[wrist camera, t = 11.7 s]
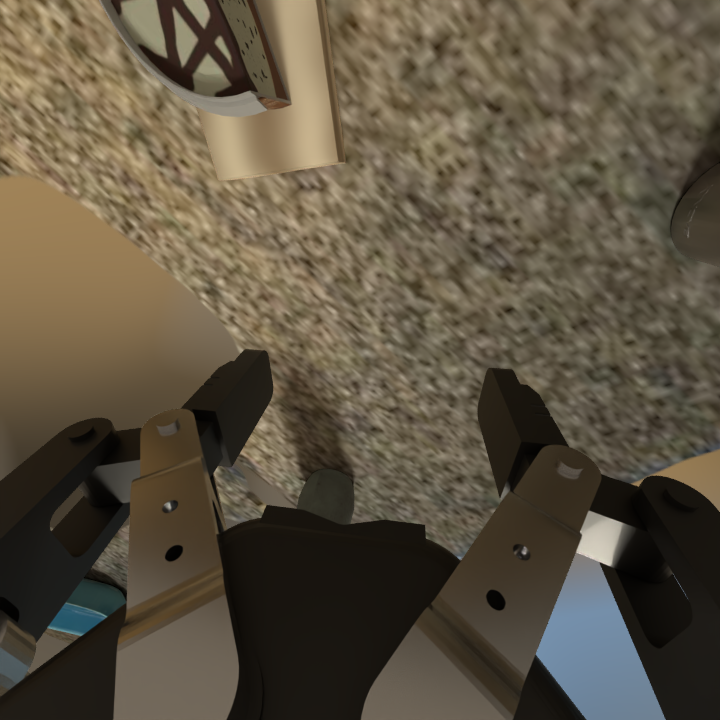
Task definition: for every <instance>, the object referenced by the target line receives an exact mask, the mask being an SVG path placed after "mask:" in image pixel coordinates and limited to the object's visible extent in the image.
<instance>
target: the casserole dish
mask: <svg viewBox="0 0 720 720" xmlns="http://www.w3.org/2000/svg"><path fill="white" fill-rule="evenodd" d="M125 603H126V600H125V598H124V596H123V594H122V592H121V591H120V590H119V589H117V588H115V587H113V586H110V585H107V584H104V583H100V582H97V581H93V580H89V579H84V578H83V580H82V581H81V582H80V584H79V585H78V586H77V588H76V589H75V590H74V592H73V593H72V595H71V596H70V597H69V599H68V600H67V601H66V603H65V604H64V606H63V607H62V608H61V610H60V611H59V612H58V614H57V615H56V617H55V618H54V619H53V621H52V622H51V623H50V625H49V626H48V627H47V628H50V629H55V630H59V631H63V632H67V633H71V634H76V635H80V636H82V635H83V634H85V633H86V632H87V631H89V630H90V629H91V628H93V627H94V626H95V625H97V624H98V623H99V622H101V621H102V620H104V619H105V618H106V617H108V616H109V615H110V614H112V613H113V612H114V611H116V610H117V609H118V608H120V607H121V606H122V605H124V604H125Z"/></svg>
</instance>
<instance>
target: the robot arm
mask: <svg viewBox="0 0 720 720" xmlns="http://www.w3.org/2000/svg"><path fill="white" fill-rule="evenodd" d="M671 235H672V241H673V243H674V245H675V247H676V248H677V249H678V250H679V251H680V252H681V253H682V254H683V255H685V256H687V257H689V258H691V259H695V260H698V261H701V262H704V263H707V264H711V265H714V266H717V267H720V163H719V164H717V165H715V166H714V167H712V168H711V169H710V170H708V171H707V172H706V173H704V174H703V175H702V176H701V177H700V178H699V179H698V180H697V181H696V182H695V183H694V184H693V185H692V186H691V187H690V188H689V190H688V191H687V192H686V193H685V195H684V196H683V197H682V199H681V201H680V203H679V205H678V206H677V208H676V210H675V213H674V216H673V219H672V226H671ZM272 394H273V381H272V375H271V369H270V362H269V356H268V353H267V352H266V351H264V350H250V349H245V350H244V351H243V352H242V353H241V354H240V355H239V356H238V357H237V358H236V360H235V361H230V362H228V363H226V364H225V365H223V366H221V367H219V368H218V369H217V370H216V371H215V372H214V373H213V374H212V375H211V378H209V379H208V380H207V381H206V382H205V383H204V385H203V386H201V387H200V388H199V390H198V391H197V392H196V393H195V394H194V395H193V396H192V397H191V398H190V399H189V400H188V401H187V402H186V403H185V404H184V405H183V407H182V408H181V409H171V410H167V411H164V412H161V413H159V414H157V415H155V416H153V417H152V418H150V419H149V420H148V421H147V422H146V423H145V424H144V425H143V427H142V428H136V429H129V430H121V431H116V430H115V428H114V426H113V424H112V422H111V421H110V420H108V419H105V418H92V419H87V420H84V421H80V422H78V423H75V424H73V425H71V426H69V427H67V428H65V429H64V430H63V431H61V432H60V433H58V434H57V435H56V436H55V437H53V438H52V439H51V440H50V441H49V442H47V443H46V444H45V445H44V446H42V447H41V448H40V449H39V450H38V451H36V452H35V453H34V454H33V455H31V456H30V457H29V458H28V459H27V460H26V461H24V462H23V463H22V464H21V465H19V466H18V467H17V468H16V469H14V470H13V471H12V472H11V473H10V474H8V475H7V476H6V477H5V478H4V479H2V480H1V481H0V720H586V719H585V717H584V716H583V715H582V713H581V712H580V711H579V710H578V708H577V707H576V706H575V704H574V703H573V702H572V701H571V699H570V698H569V697H568V695H567V694H566V693H565V692H564V690H563V689H562V688H561V686H560V685H559V684H558V683H557V681H556V680H555V679H554V677H553V676H552V675H551V674H550V672H549V671H548V670H547V668H546V667H545V666H544V665H543V663H542V662H541V661H540V659H539V658H538V657H537V656H536V651H537V649H538V647H539V644H540V642H541V639H542V636H543V634H544V631H545V629H546V626H547V624H548V621H549V619H550V616H551V614H552V611H553V609H554V606H555V604H556V601H557V598H558V596H559V594H560V591H561V589H562V586H563V583H564V581H565V579H566V576H567V573H568V571H569V569H570V566H571V563H572V561H573V558H574V556H575V553H576V552H577V553H579V554H582V555H584V556H587V557H589V558H591V559H594V560H596V561H599V563H600V565H601V567H602V570H603V572H604V575H605V577H606V579H607V582H608V584H609V586H610V589H611V591H612V593H613V596H614V598H615V601H616V603H617V605H618V608H619V610H620V612H621V615H622V617H623V619H624V622H625V624H626V627H627V629H628V631H629V634H630V636H631V639H632V641H633V643H634V646H635V648H636V650H637V653H638V655H639V657H640V660H641V662H642V664H643V667H644V669H645V672H646V674H647V676H648V679H649V681H650V683H651V686H652V688H653V690H654V693H655V695H656V697H657V700H658V702H659V705H660V707H661V709H662V712H663V714H664V717H665V719H666V720H720V512H719V511H718V510H717V508H716V507H715V506H714V505H713V504H712V503H711V502H710V501H709V500H708V499H707V498H706V497H705V496H703V495H702V494H701V493H699V492H698V491H696V490H695V489H693V488H691V487H690V486H688V485H686V484H684V483H682V482H679V481H677V480H674V479H671V478H668V477H663V476H649V477H647V478H645V479H644V480H643V481H642V483H641V484H640V486H639V487H638V486H634V485H632V484H629V483H625V482H622V481H619V480H616V479H613V478H610V477H607V476H605V475H602V474H601V472H600V470H599V468H598V467H597V465H596V464H595V463H594V462H593V461H592V460H591V459H590V458H589V457H587V456H586V455H584V454H583V453H581V452H579V451H578V450H575V449H573V448H570V447H569V446H568V444H567V442H566V441H565V439H564V437H563V435H562V434H561V432H560V430H559V428H558V427H557V425H556V423H555V421H554V420H553V418H552V417H550V413H549V411H548V409H547V408H546V407H545V404H544V402H543V400H542V399H541V397H540V395H539V394H538V393H537V392H535V391H534V390H533V389H532V388H531V387H529V386H528V385H523V384H520V383H519V381H518V379H517V377H516V375H515V373H514V371H513V370H512V369H500V368H488V370H487V372H486V375H485V379H484V383H483V387H482V391H481V395H480V399H479V403H478V421H479V424H480V428H481V432H482V435H483V439H484V443H485V446H486V450H487V453H488V457H489V461H490V464H491V468H492V472H493V475H494V479H495V482H496V486H497V490H498V493H499V497H500V499H503V500H502V502H501V503H500V504H499V506H498V507H497V509H496V510H495V512H494V513H493V515H492V516H491V518H490V519H489V521H488V522H487V524H486V525H485V526H484V528H483V529H482V531H481V532H480V534H479V535H478V537H477V538H476V540H475V541H474V543H473V544H472V546H471V547H470V548H469V550H468V551H467V553H466V554H465V556H464V557H463V559H462V560H459V559H458V558H457V557H456V556H455V555H453V554H452V553H451V552H450V551H448V550H447V549H445V548H444V547H442V546H440V545H439V544H437V543H435V542H433V541H431V540H428V539H426V535H425V525H422V524H414V523H406V522H398V521H390V520H379V521H371V522H363V523H355V524H347V525H342V524H338V523H336V522H333V521H331V520H328V519H326V518H323V517H321V516H318V515H316V514H313V513H311V512H308V511H306V510H302V509H294V508H286V507H277V506H270V505H267V506H266V508H265V510H264V513H263V515H262V518H257V519H253V520H249V521H245V522H243V523H240V524H237V525H235V526H233V527H231V528H229V529H227V527H226V523H225V518H224V514H223V510H222V505H221V501H220V497H219V492H218V488H217V484H216V480H215V476H214V471H215V470H216V468H217V466H226V467H232V466H233V464H234V462H235V461H236V459H237V457H238V455H239V454H240V452H241V450H242V449H243V447H244V445H245V443H246V442H247V440H248V438H249V437H250V435H251V433H252V431H253V430H254V428H255V426H256V425H257V423H258V421H259V420H260V418H261V416H262V414H263V413H264V411H265V409H266V408H267V406H268V404H269V402H270V401H271V398H272ZM77 487H78V488H79V489H80V490H81V492H82V493H83V495H84V496H83V498H81V500H80V501H79V502H78V503H77V504H76V505H75V506H74V507H73V508H72V509H71V511H70V512H69V513H68V514H67V515H66V516H65V517H64V518H63V519H62V520H61V522H60V523H59V524H58V525H57V526H56V527H55V528H54V529H53V530H52V531H51V530H50V520H51V518H52V515H53V514H54V512H55V511H56V509H57V508H58V507H59V506H60V505H61V504H62V503H63V502H64V501H65V500H66V499H67V498H68V497H69V496H70V494H72V493H73V491H75V489H76V488H77ZM129 515H130V523H129V553H128V582H127V602H126V603H125V604H124V605H122V606H121V607H120V608H118V609H117V610H116V611H114V612H113V613H112V614H110V615H109V616H108V617H106V618H105V619H104V620H102V621H101V622H99V623H98V624H97V625H95V626H94V627H93V628H91V629H90V630H89V631H87V632H86V633H85V634H83V635H82V636H81V637H79V638H78V639H77V640H75V641H74V642H73V643H71V644H70V645H69V646H67V647H66V648H64V650H62V651H60V652H59V653H58V654H56V655H55V656H54V657H52V658H51V659H50V660H48V661H47V662H46V663H44V664H43V665H41V666H40V667H39V668H37V669H36V670H35V671H34V672H32V673H31V674H30V673H29V672H28V669H29V668H30V666H31V663H32V661H33V659H34V655H35V651H36V643H37V641H38V640H39V638H40V637H41V636H42V634H43V633H44V632H45V630H46V629H47V627H48V626H49V625H50V623H51V622H52V621H53V619H54V618H55V617H56V615H57V614H58V612H59V611H60V610H61V608H62V607H63V606H64V604H65V603H66V601H67V600H68V599H69V597H70V596H71V595H72V593H73V592H74V590H75V589H76V588H77V586H78V585H79V584H80V582H81V581H82V580H83V578H84V577H85V575H86V574H87V573H88V571H89V570H90V569H91V567H92V566H93V564H94V563H95V562H96V560H97V559H98V558H99V556H100V555H101V553H102V552H103V551H104V549H105V548H106V547H107V545H108V544H109V543H110V541H111V540H112V538H113V537H114V536H115V534H116V533H117V532H118V530H119V529H120V527H121V526H122V525H123V523H124V522H125V521H126V519H127V518H128V516H129ZM673 574H674V575H673ZM674 576H675V577H676V578H675V577H674ZM676 579H677V580H676ZM677 581H678V582H679V584H680V585H679V584H678V582H677ZM680 586H681V587H682V589H683V590H682V589H681V587H680ZM683 591H684V592H683ZM684 593H685V594H686V595H685V594H684ZM686 596H687V597H686ZM687 598H688V599H687Z"/></svg>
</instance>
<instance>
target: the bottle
mask: <svg viewBox="0 0 720 720" xmlns="http://www.w3.org/2000/svg"><path fill="white" fill-rule="evenodd" d="M297 509H302V510H306V511H308V512H311V513H313V514H316V515H318V516H321V517H323V518H326V519H328V520H331V521H333V522H336V523H338V524H342V525H347V524H350V523H351V519H352V515H353V511H354V489H353V485H352V481H351V480H350V479H349V477H347V476H346V475H345V474H344V473H341V472H339V471H337V470H332V469H321V470H318V471H315V472H314V473H312V474H311V476H310V477H309V479H308V480H307V482H306V483H305V485H304V487H303V489H302V492H301V494H300V496H299V500H298V505H297Z"/></svg>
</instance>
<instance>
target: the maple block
mask: <svg viewBox="0 0 720 720" xmlns="http://www.w3.org/2000/svg"><path fill="white" fill-rule="evenodd" d="M255 1H256V3H257V6H258V9H259V12H260V15H261V18H262V21H263V23H264V26H265V29H266V32H267V35H268V38H269V41H270V44H271V46H272V49H273V52H274V55H275V58H276V61H277V64H278V66H279V69H280V72H281V75H282V78H283V81H284V84H285V87H286V89H287V92H288V95H289V98H290V101H291V104H292V105H290V106H287V107H284V108H280V109H273V110H271V109H267V111H264V112H261V113H258V114H255V115H250V116H243V117H231V116H221V115H217V114H213V113H210V112H206V111H204V110H202V109H200V108H198V107H196V108H197V111H198V114H199V118H200V121H201V124H202V127H203V131H204V134H205V137H206V141H207V144H208V147H209V150H210V154H211V157H212V160H213V164H214V167H215V170H216V173H217V177H218V180H219V181H223V180H237V179H245V178H252V177H258V176H264V175H271V174H277V173H284V172H290V171H296V170H303V169H309V168H316V167H322V166H328V165H335V164H341V163H346V160H345V152H344V144H343V136H342V129H341V121H340V113H339V105H338V98H337V90H336V82H335V74H334V67H333V59H332V51H331V43H330V36H329V28H328V20H327V12H326V5H325V0H255Z"/></svg>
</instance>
